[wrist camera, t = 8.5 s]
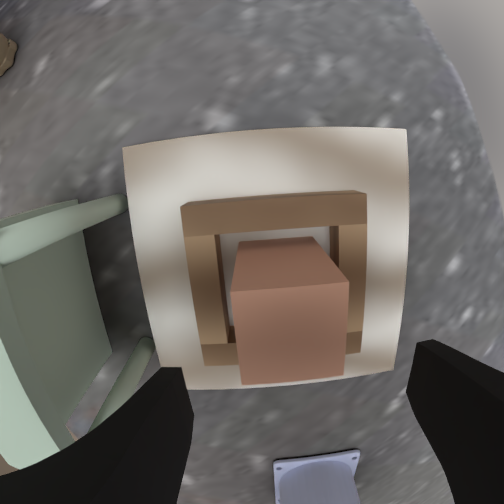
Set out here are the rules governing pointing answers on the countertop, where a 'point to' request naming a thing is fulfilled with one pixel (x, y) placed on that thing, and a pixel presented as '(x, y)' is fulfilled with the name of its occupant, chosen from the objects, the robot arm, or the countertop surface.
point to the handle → (6, 53)
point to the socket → (267, 234)
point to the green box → (53, 328)
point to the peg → (288, 311)
